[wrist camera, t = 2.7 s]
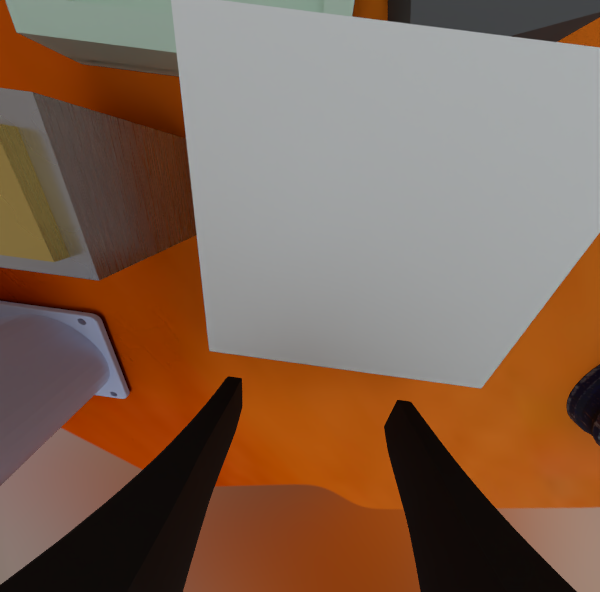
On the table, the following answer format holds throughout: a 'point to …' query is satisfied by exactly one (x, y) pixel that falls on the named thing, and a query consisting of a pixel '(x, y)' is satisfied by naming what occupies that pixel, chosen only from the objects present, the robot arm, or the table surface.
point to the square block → (499, 16)
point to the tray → (124, 29)
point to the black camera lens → (586, 404)
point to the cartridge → (87, 189)
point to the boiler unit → (382, 185)
